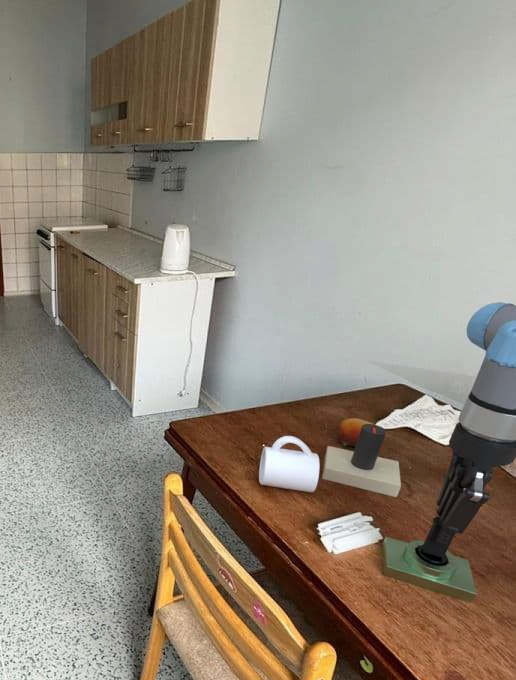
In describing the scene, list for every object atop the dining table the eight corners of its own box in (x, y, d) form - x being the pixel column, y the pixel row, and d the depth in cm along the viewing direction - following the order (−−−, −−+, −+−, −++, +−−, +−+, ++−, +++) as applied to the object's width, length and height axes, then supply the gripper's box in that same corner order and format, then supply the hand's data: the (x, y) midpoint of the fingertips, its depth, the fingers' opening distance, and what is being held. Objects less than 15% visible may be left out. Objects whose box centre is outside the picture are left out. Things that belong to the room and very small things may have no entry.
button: (442, 557, 80) (445, 549, 79) (445, 573, 77) (449, 565, 76) (413, 549, 81) (417, 541, 81) (415, 564, 78) (419, 556, 78)
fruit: (333, 445, 113) (343, 413, 113) (334, 446, 120) (343, 416, 119) (372, 455, 109) (382, 422, 109) (370, 456, 116) (380, 425, 115)
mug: (312, 500, 98) (326, 452, 92) (259, 492, 100) (270, 444, 95) (307, 477, 104) (320, 431, 99) (258, 470, 107) (267, 424, 102)
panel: (394, 472, 105) (398, 460, 104) (396, 497, 98) (401, 485, 96) (324, 456, 112) (328, 445, 110) (321, 478, 104) (325, 467, 102)
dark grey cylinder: (350, 456, 106) (362, 420, 101) (373, 461, 104) (386, 425, 100) (350, 466, 102) (362, 430, 98) (374, 472, 101) (387, 435, 96)
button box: (463, 569, 81) (472, 552, 79) (471, 603, 75) (481, 586, 73) (382, 545, 86) (388, 528, 84) (383, 575, 80) (390, 558, 78)
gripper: (537, 460, 60) (467, 588, 72) (513, 416, 70) (454, 534, 81) (464, 445, 64) (408, 570, 75) (451, 405, 74) (403, 521, 85)
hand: (432, 551), depth 78 cm, fingers closed
